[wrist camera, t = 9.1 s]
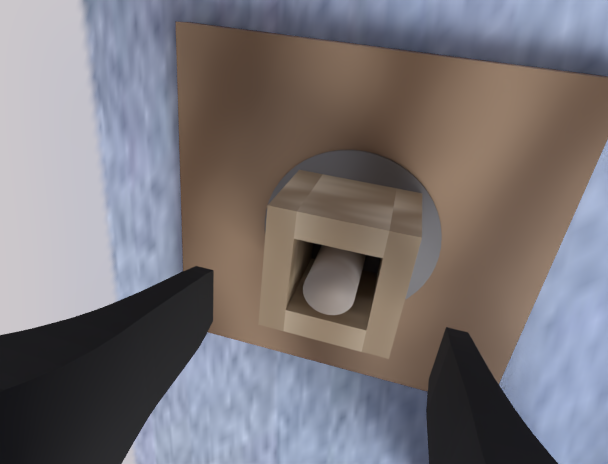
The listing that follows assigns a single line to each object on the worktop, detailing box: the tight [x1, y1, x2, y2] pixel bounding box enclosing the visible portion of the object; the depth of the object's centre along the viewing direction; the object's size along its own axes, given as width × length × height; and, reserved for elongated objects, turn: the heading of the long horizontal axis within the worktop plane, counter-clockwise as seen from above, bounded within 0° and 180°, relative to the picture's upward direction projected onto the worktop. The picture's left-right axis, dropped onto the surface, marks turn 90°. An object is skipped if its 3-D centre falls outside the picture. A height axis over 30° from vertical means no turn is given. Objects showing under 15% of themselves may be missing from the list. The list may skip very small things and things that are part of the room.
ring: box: [258, 170, 422, 359], centre depth 16 cm, size 5×5×4 cm
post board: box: [176, 22, 608, 391], centre depth 17 cm, size 16×15×6 cm
